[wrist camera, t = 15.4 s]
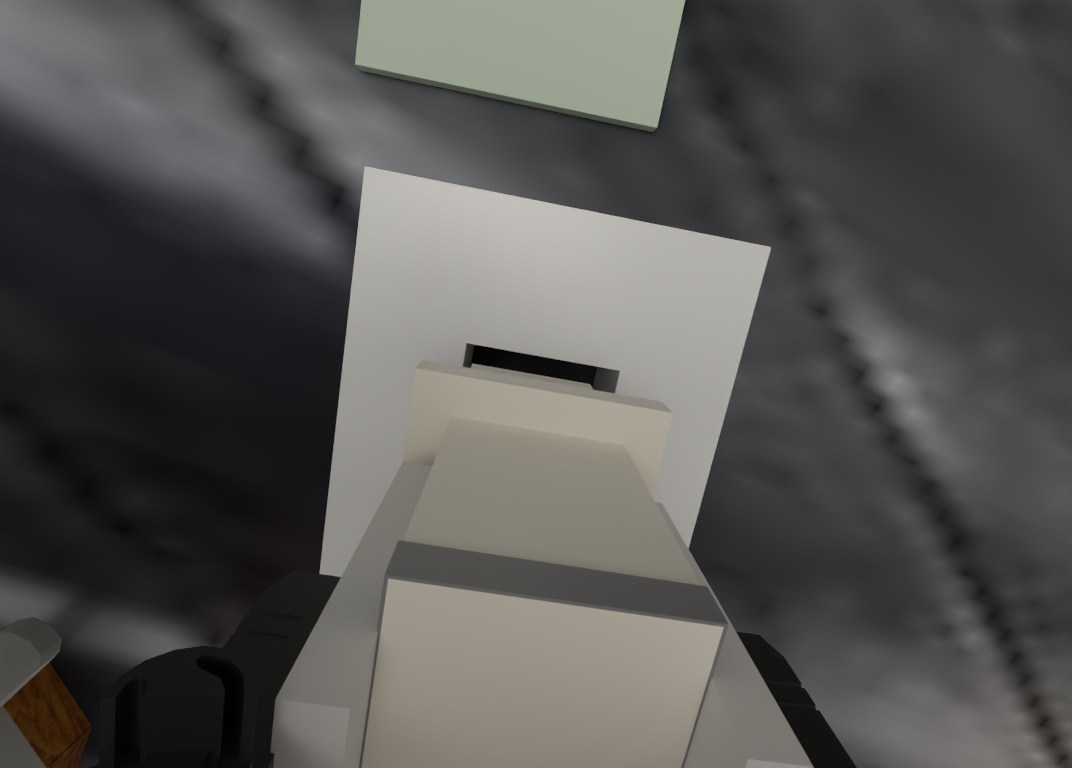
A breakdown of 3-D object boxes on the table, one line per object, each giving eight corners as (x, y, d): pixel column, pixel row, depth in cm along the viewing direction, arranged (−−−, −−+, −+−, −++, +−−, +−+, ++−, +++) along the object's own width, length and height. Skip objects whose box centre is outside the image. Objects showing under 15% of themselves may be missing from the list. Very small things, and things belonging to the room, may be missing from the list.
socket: (346, 597, 27) (160, 960, 13) (398, 184, 23) (201, 75, 9) (621, 637, 28) (719, 1018, 14) (720, 248, 24) (1004, 240, 10)
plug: (423, 495, 20) (270, 895, 8) (448, 329, 19) (311, 488, 6) (587, 520, 21) (696, 937, 8) (623, 361, 19) (823, 567, 7)
